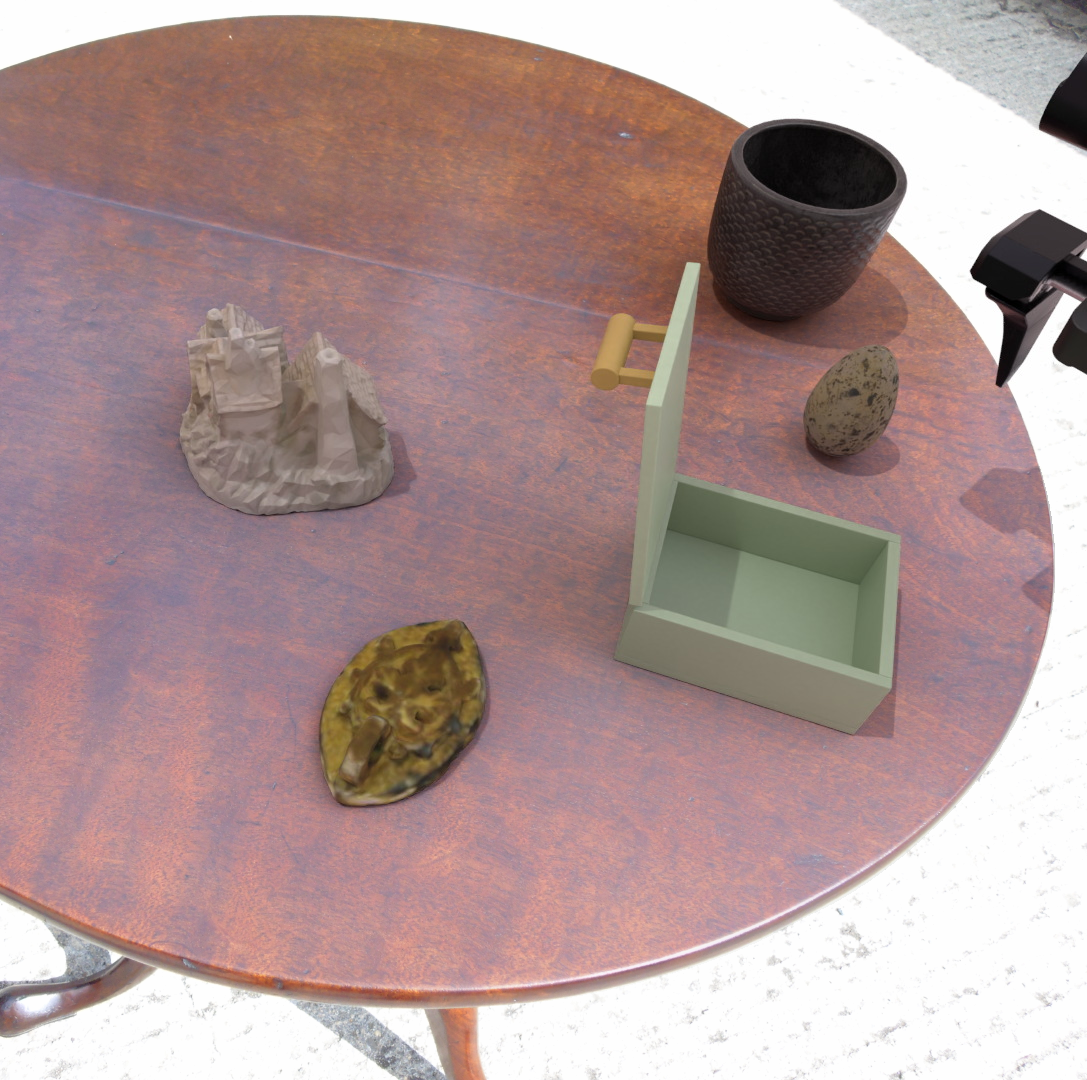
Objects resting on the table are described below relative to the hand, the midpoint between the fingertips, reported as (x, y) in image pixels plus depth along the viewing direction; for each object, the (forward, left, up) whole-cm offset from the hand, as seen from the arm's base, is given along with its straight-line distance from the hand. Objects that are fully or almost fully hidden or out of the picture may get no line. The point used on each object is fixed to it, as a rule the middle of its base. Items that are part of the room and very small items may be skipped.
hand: (1067, 423), depth 68 cm
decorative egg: (+10, -8, -13) cm, 18 cm away
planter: (+15, -26, -13) cm, 33 cm away
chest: (+16, +11, -13) cm, 23 cm away
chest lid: (+25, +10, +1) cm, 27 cm away
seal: (+37, +24, -13) cm, 46 cm away
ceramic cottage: (+51, +3, -13) cm, 53 cm away
